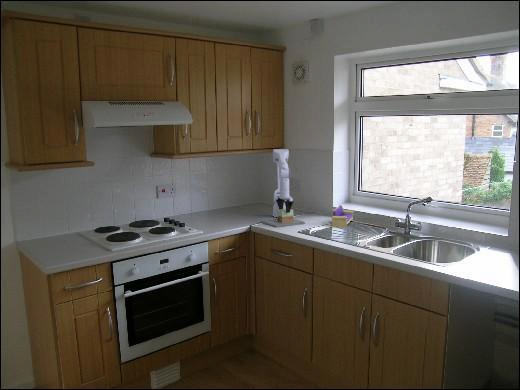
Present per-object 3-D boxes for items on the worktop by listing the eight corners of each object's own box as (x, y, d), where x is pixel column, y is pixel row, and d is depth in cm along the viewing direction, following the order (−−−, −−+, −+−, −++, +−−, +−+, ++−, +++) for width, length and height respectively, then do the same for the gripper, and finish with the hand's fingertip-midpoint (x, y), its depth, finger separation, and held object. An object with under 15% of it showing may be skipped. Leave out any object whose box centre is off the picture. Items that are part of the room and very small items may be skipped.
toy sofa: (346, 228, 259) (346, 210, 258) (331, 227, 262) (331, 210, 261) (353, 221, 278) (353, 205, 277) (339, 220, 282) (339, 204, 280)
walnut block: (277, 221, 275) (277, 215, 275) (288, 219, 279) (288, 214, 279) (282, 222, 270) (282, 216, 270) (293, 221, 274) (293, 215, 274)
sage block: (277, 215, 275) (277, 209, 274) (288, 214, 279) (288, 208, 278) (282, 216, 270) (282, 211, 269) (293, 215, 274) (293, 209, 273)
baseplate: (260, 222, 278) (260, 220, 277) (287, 219, 288) (287, 217, 287) (276, 227, 262) (276, 225, 262) (304, 223, 272) (304, 221, 272)
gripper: (297, 190, 268) (297, 212, 269) (283, 187, 280) (283, 209, 282) (287, 190, 264) (287, 213, 266) (273, 188, 276) (273, 210, 278)
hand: (284, 211), depth 274 cm, fingers open, 7 cm apart
